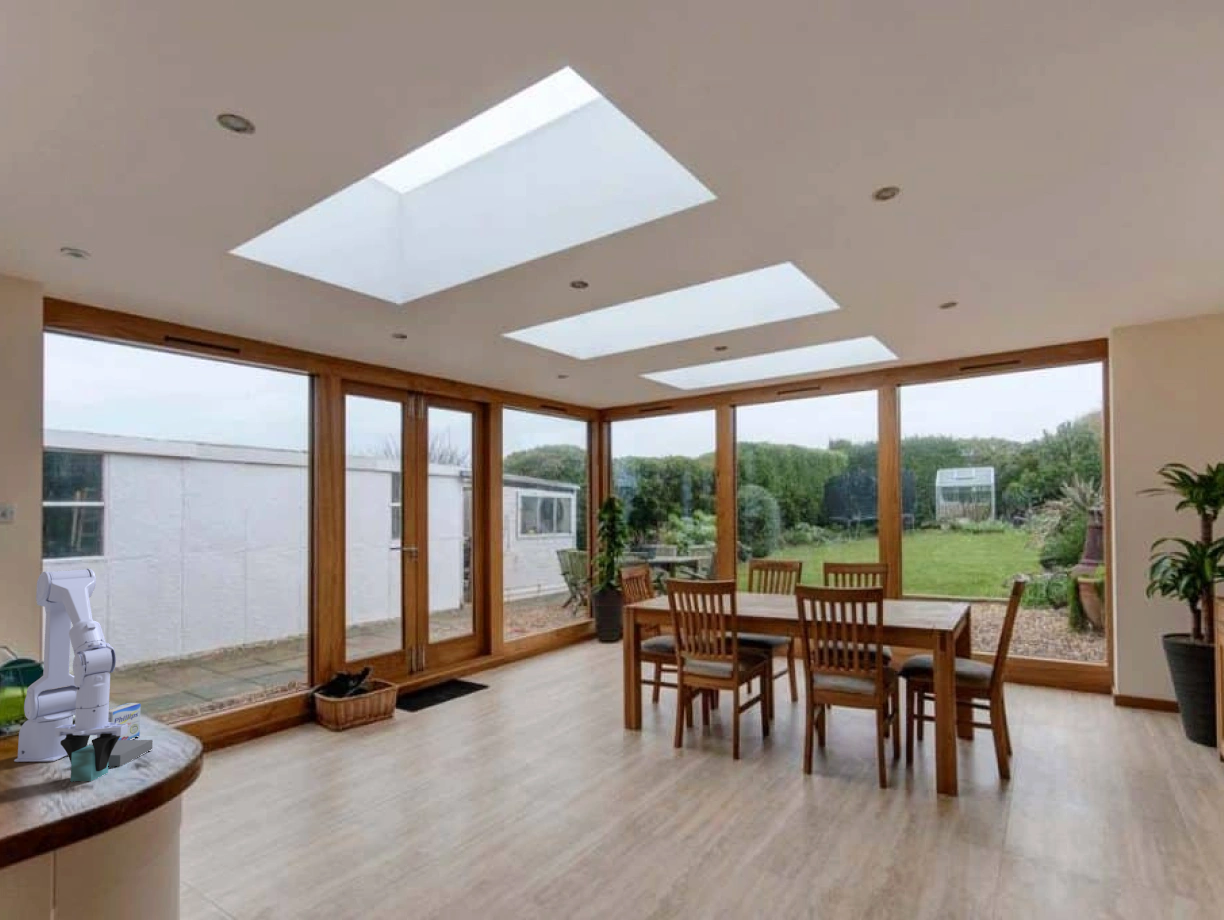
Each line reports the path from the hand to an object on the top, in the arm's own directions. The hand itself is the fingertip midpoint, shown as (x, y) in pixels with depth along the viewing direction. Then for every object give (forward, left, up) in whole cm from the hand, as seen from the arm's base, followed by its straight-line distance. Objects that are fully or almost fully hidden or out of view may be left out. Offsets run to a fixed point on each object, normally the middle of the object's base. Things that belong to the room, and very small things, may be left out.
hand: (89, 769), depth 142 cm
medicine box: (-11, +22, -2) cm, 25 cm away
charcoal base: (-3, +11, -2) cm, 12 cm away
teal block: (0, 0, -2) cm, 2 cm away
